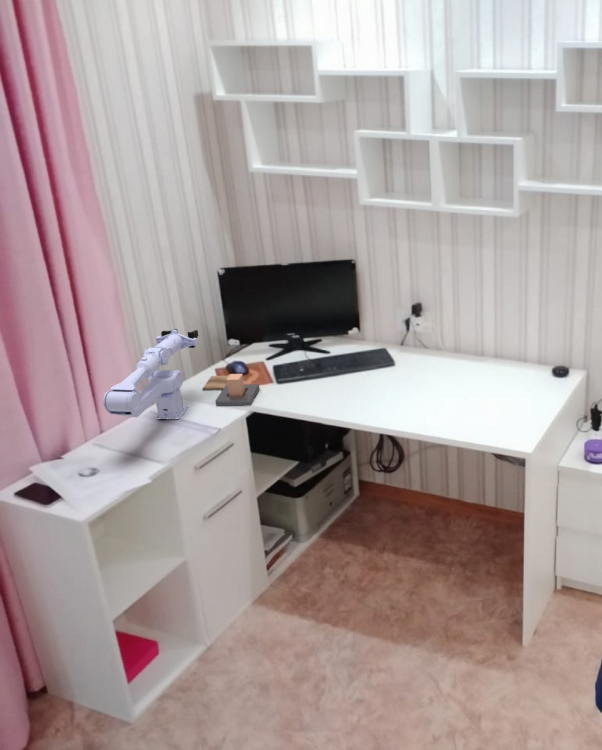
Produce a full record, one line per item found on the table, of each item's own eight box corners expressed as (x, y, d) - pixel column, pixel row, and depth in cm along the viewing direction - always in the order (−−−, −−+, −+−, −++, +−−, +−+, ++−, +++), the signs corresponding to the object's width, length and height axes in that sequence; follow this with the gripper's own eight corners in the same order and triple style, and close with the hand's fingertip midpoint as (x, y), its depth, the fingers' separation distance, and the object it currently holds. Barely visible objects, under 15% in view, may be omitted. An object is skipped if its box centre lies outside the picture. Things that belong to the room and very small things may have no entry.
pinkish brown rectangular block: (242, 400, 296) (238, 379, 293) (230, 400, 297) (226, 379, 294) (246, 394, 300) (242, 373, 297) (234, 395, 301) (230, 374, 298)
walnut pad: (229, 390, 305) (229, 387, 305) (202, 390, 308) (202, 388, 307) (237, 377, 314) (237, 375, 313) (211, 377, 316) (211, 375, 316)
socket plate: (250, 405, 292) (249, 400, 291) (216, 406, 295) (215, 400, 294) (259, 389, 302) (258, 384, 301) (226, 390, 305) (226, 384, 304)
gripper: (187, 336, 287) (204, 322, 299) (148, 334, 292) (166, 320, 304) (190, 356, 290) (207, 341, 302) (151, 353, 295) (169, 339, 307)
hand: (187, 332), depth 303 cm, fingers open, 7 cm apart
